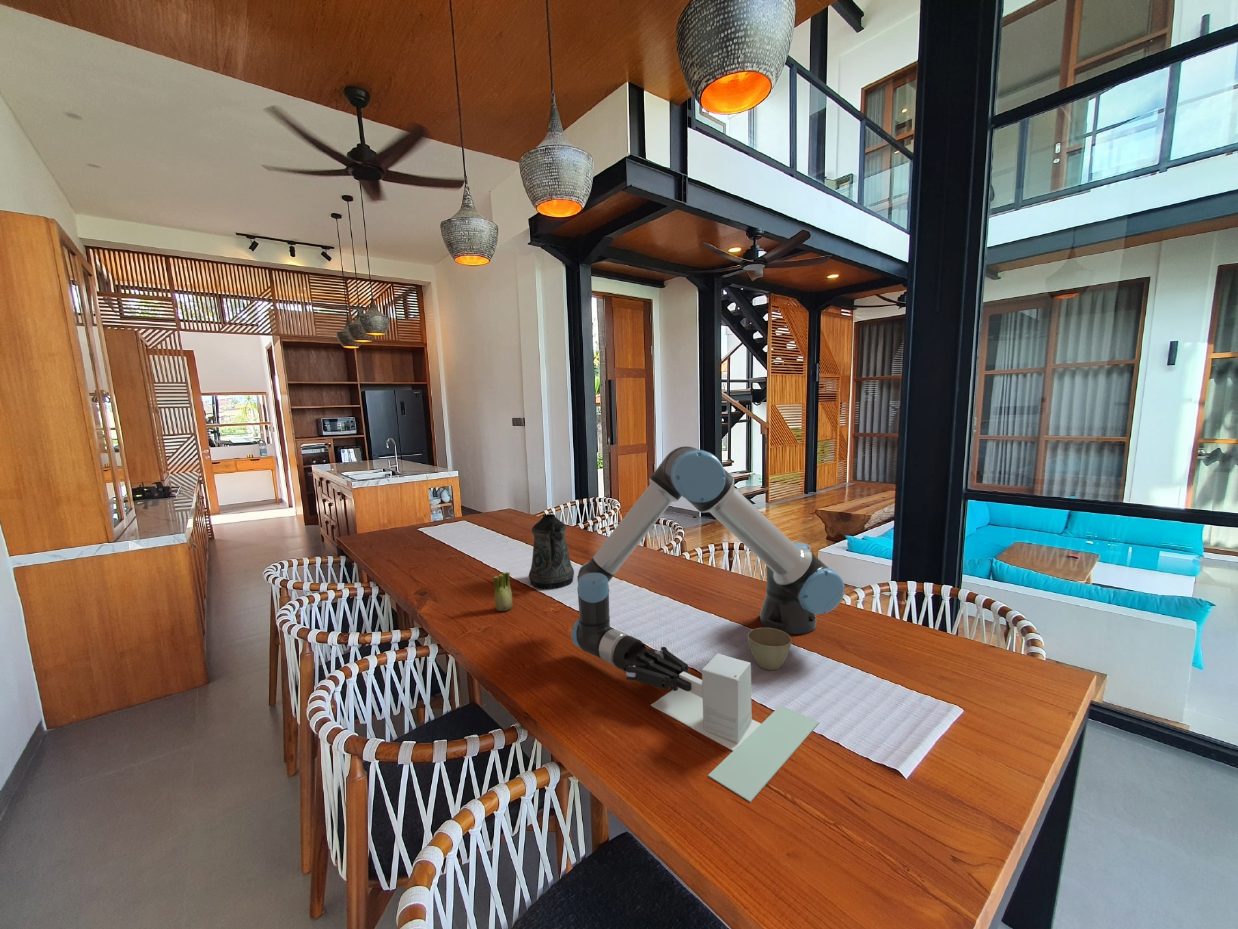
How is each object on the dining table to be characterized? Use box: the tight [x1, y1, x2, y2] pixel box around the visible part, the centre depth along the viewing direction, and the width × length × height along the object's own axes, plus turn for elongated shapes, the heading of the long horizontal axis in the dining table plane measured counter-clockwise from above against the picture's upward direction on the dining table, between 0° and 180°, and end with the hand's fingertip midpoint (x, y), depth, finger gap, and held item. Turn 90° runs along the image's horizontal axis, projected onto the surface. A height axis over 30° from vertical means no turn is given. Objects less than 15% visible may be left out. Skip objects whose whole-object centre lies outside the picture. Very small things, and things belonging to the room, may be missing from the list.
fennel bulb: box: [493, 571, 513, 612], centre depth 152 cm, size 6×5×12 cm
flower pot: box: [747, 627, 793, 671], centre depth 115 cm, size 10×10×7 cm
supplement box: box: [701, 653, 753, 743], centre depth 93 cm, size 7×7×13 cm
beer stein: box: [528, 513, 575, 591], centre depth 174 cm, size 16×19×25 cm
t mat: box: [650, 687, 820, 803], centre depth 95 cm, size 28×26×1 cm
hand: (707, 691), depth 95 cm, fingers closed
